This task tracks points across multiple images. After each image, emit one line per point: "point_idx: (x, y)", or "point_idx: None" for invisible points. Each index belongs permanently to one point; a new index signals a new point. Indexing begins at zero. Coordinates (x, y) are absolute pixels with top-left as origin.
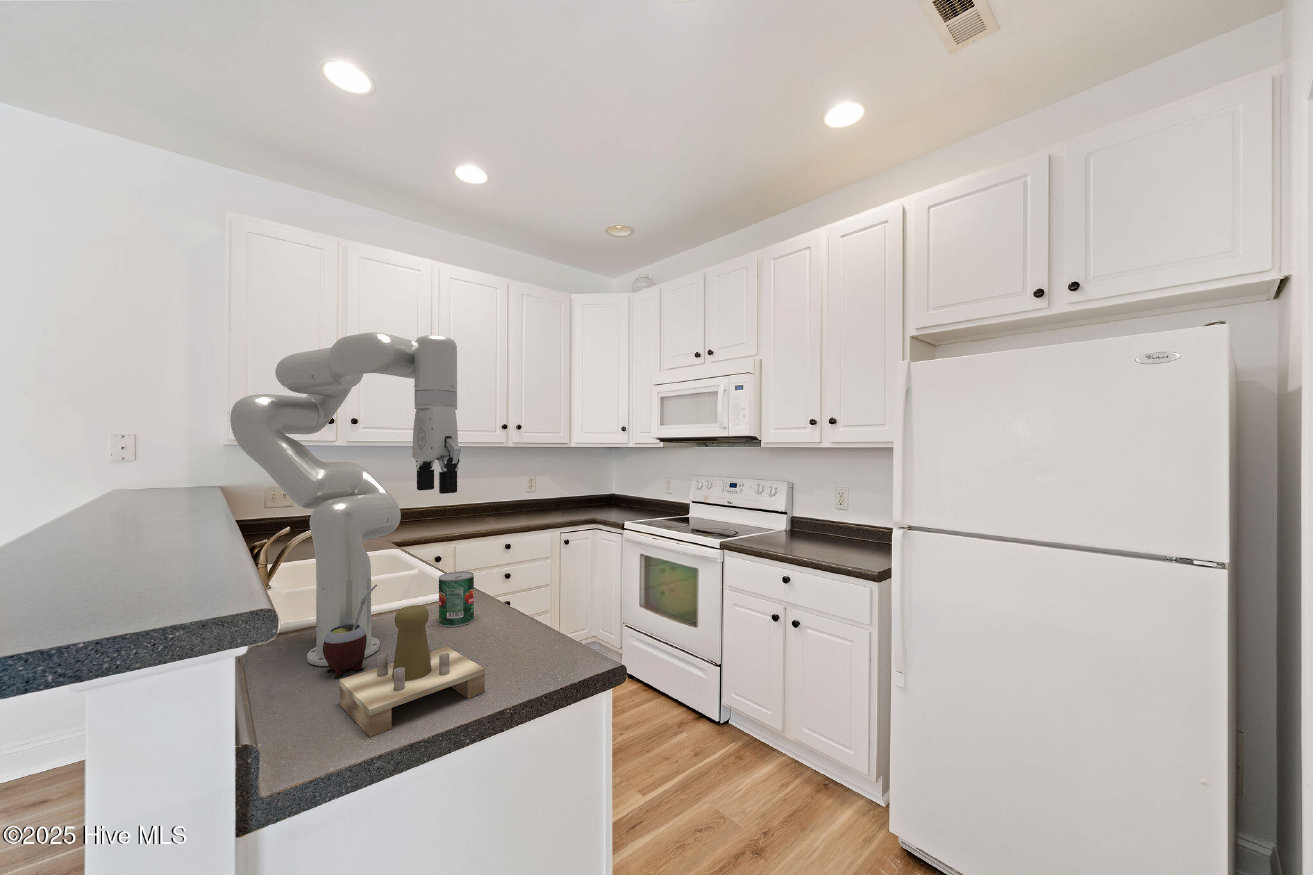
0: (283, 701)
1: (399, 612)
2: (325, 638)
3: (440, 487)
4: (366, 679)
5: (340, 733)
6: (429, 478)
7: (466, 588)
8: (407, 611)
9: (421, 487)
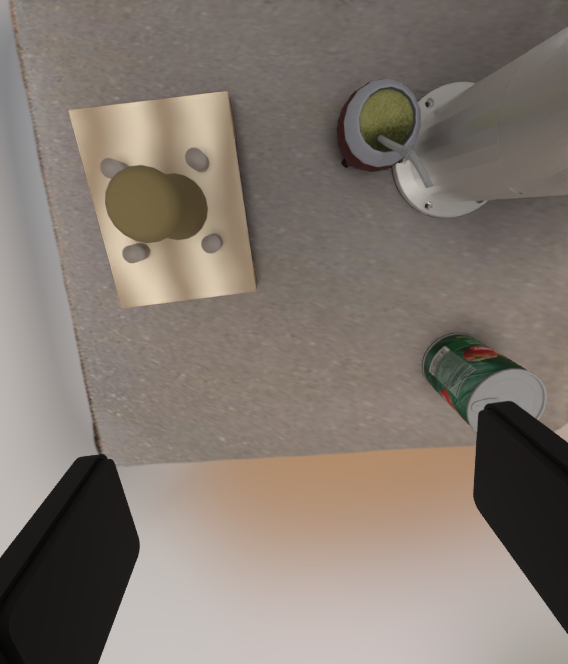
0: (305, 21)
1: (131, 173)
2: (385, 79)
3: (58, 485)
4: (196, 133)
5: (127, 86)
6: (533, 547)
7: (455, 403)
8: (117, 188)
9: (488, 433)
